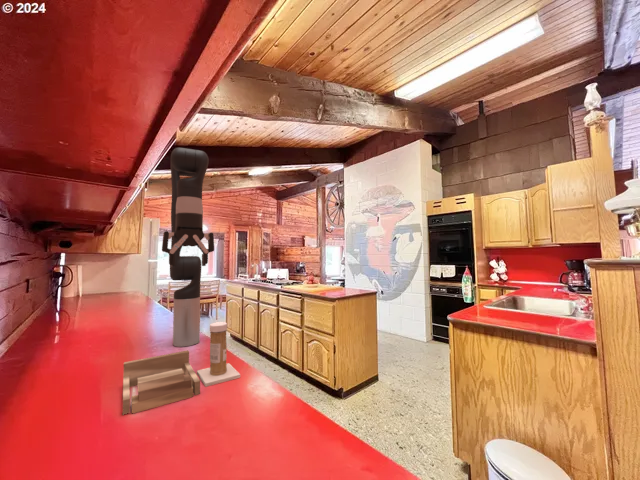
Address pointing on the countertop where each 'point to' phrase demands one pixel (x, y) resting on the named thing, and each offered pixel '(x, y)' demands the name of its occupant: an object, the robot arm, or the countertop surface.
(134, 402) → the frame
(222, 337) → the sprinkles bottle
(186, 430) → the countertop surface
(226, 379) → the cream mat
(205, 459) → the countertop surface
